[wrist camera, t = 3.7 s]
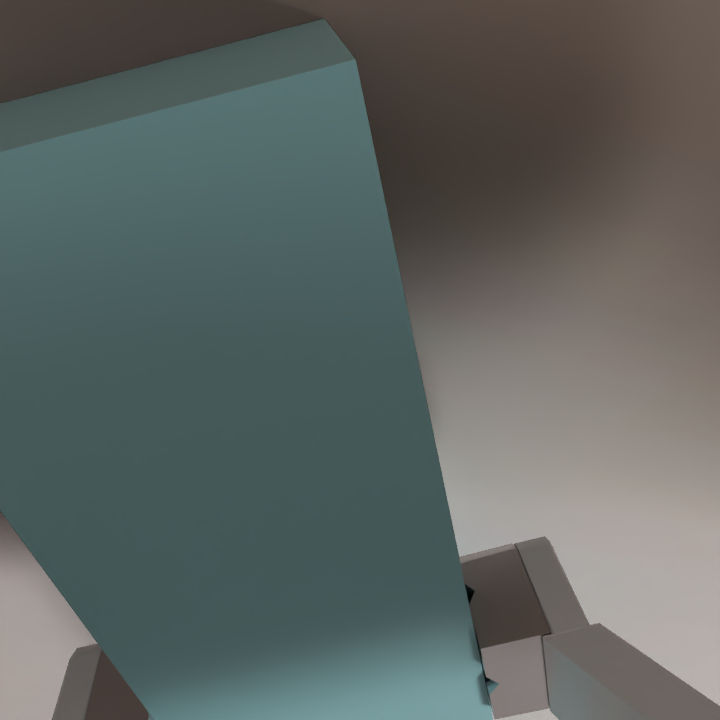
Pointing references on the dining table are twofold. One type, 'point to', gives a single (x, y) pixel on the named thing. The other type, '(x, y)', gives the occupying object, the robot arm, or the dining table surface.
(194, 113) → the shelf board
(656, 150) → the dining table surface
